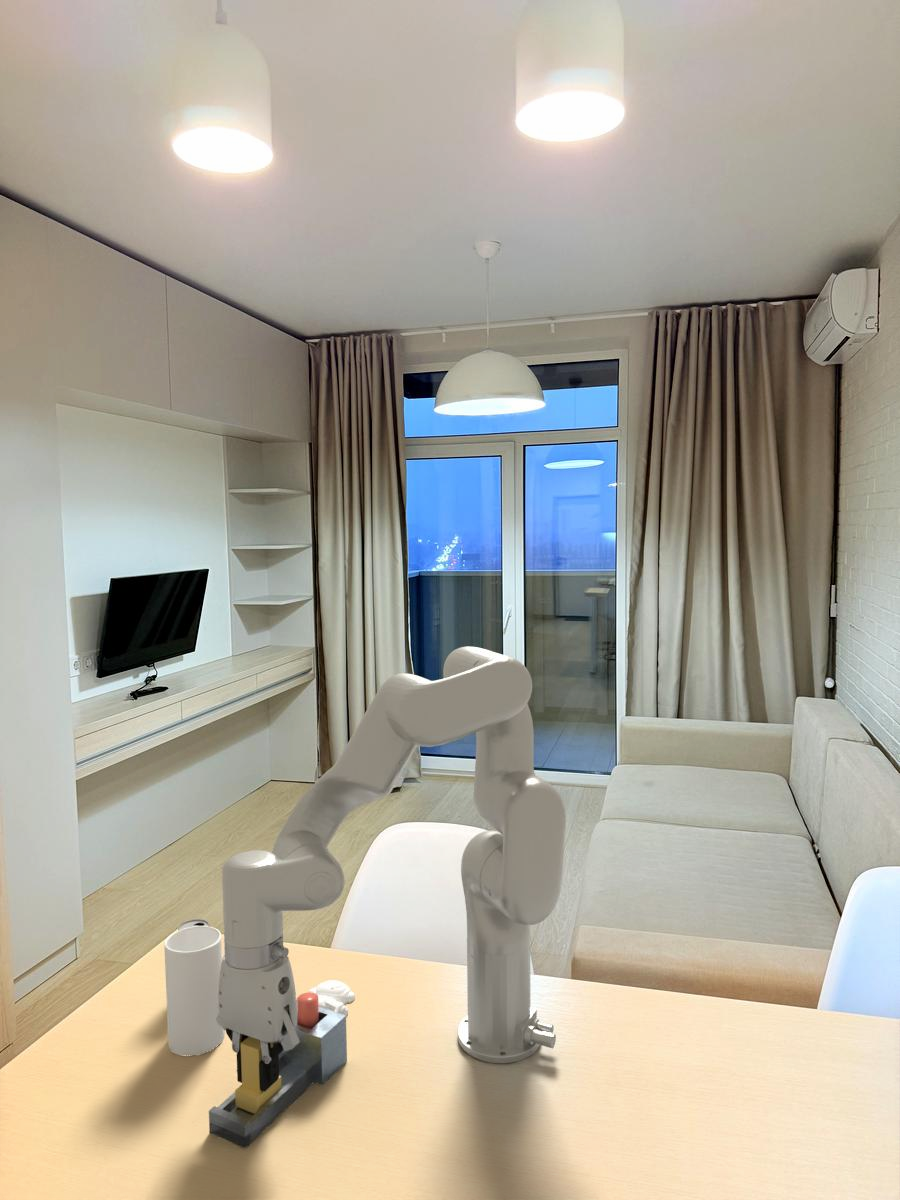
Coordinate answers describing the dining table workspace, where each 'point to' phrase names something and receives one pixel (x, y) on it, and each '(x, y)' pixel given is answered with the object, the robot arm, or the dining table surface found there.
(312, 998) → the button
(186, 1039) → the cup
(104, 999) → the dining table surface
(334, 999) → the astronaut figurine
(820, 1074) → the dining table surface
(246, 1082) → the block
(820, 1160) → the dining table surface
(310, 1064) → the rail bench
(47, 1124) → the dining table surface
